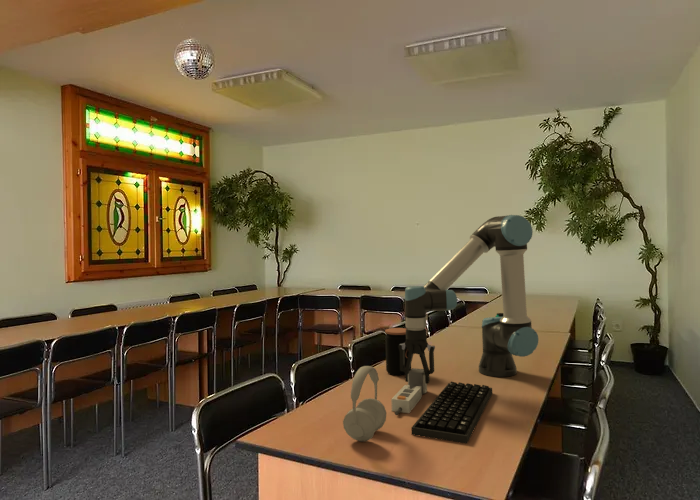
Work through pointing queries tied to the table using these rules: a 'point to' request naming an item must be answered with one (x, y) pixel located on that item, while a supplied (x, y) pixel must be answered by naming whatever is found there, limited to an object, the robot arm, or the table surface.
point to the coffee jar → (395, 350)
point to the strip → (406, 399)
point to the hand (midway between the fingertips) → (417, 391)
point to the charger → (416, 378)
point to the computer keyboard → (454, 412)
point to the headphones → (364, 409)
